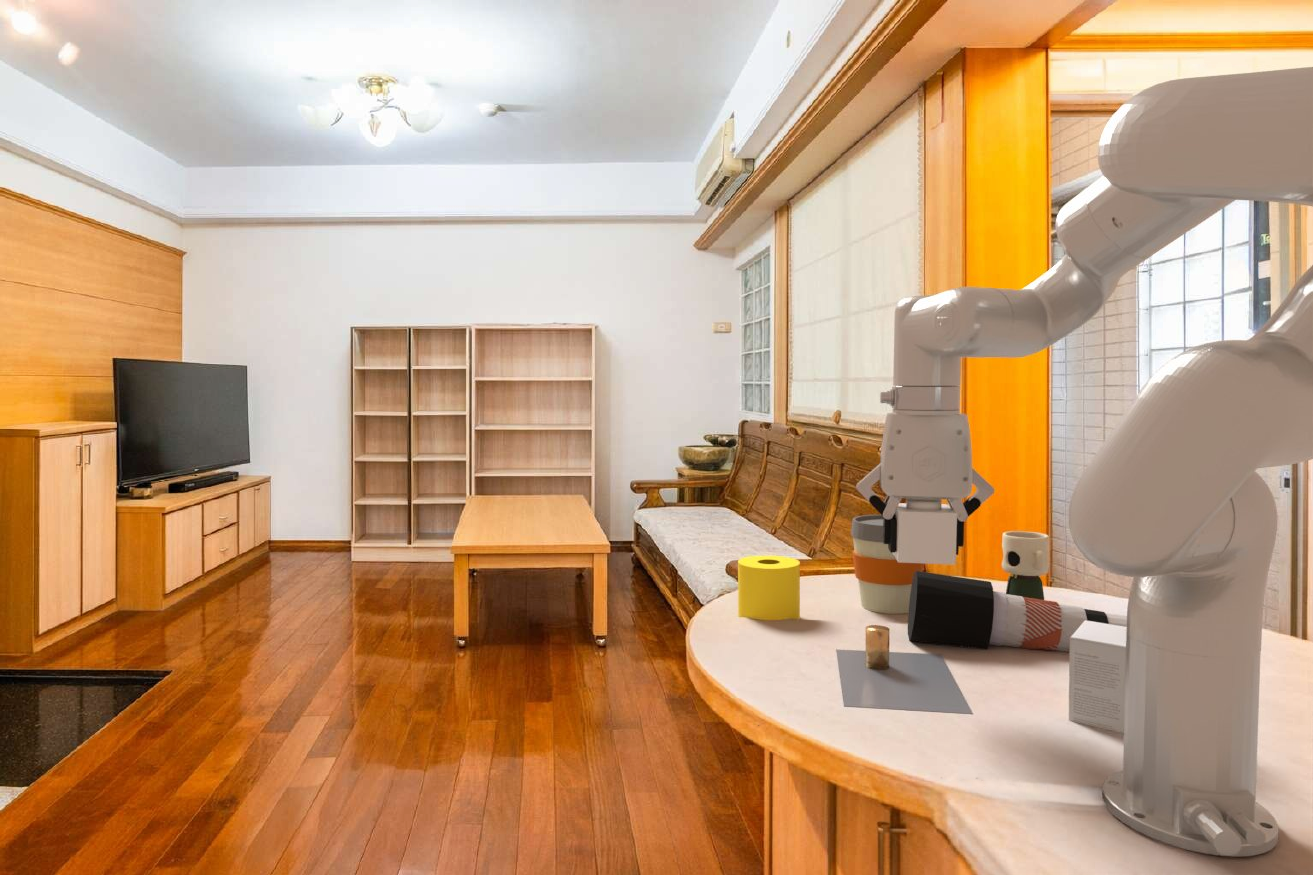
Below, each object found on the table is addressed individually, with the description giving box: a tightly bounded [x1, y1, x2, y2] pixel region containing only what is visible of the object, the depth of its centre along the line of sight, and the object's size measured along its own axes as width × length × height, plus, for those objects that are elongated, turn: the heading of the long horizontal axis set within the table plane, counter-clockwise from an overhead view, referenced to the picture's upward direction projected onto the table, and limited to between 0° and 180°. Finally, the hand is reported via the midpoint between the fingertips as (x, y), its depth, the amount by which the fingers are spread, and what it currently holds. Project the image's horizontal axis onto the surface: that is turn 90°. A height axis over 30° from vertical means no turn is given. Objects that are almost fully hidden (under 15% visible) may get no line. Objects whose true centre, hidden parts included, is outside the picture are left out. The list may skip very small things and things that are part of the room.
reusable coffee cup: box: [850, 514, 925, 615], centre depth 135 cm, size 13×13×15 cm
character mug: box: [1001, 530, 1050, 600], centre depth 131 cm, size 11×7×13 cm, turn 1°
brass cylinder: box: [864, 624, 890, 670], centre depth 102 cm, size 3×3×5 cm
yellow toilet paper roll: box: [737, 555, 801, 621], centre depth 129 cm, size 10×10×9 cm
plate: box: [835, 649, 974, 715], centre depth 98 cm, size 20×14×1 cm
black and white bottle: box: [907, 571, 1127, 655], centre depth 110 cm, size 10×34×10 cm
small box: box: [1068, 620, 1127, 734], centre depth 86 cm, size 8×6×10 cm
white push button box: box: [893, 498, 957, 566], centre depth 94 cm, size 6×6×7 cm
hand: (922, 549), depth 94 cm, fingers closed on white push button box, 6 cm apart
